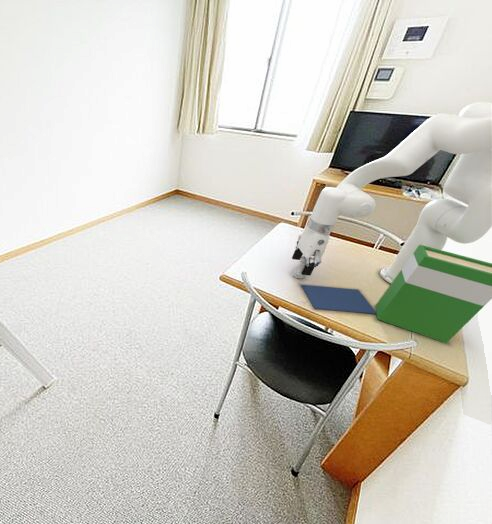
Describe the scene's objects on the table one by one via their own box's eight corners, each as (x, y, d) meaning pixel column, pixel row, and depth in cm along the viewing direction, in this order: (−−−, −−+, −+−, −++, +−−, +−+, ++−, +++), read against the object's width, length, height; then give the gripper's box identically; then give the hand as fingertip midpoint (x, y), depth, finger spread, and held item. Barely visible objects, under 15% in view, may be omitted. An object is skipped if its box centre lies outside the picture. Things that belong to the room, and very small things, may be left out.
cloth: (357, 290, 107) (358, 289, 107) (377, 314, 97) (377, 313, 97) (301, 285, 107) (301, 284, 107) (314, 308, 98) (314, 307, 97)
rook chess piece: (291, 277, 111) (299, 259, 107) (291, 270, 115) (298, 253, 110) (304, 280, 110) (313, 262, 105) (303, 273, 114) (312, 256, 109)
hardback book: (440, 327, 94) (499, 265, 80) (446, 343, 88) (510, 279, 75) (375, 305, 100) (419, 244, 86) (377, 319, 95) (424, 256, 81)
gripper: (343, 239, 93) (320, 282, 103) (320, 215, 107) (302, 254, 117) (319, 237, 93) (298, 280, 103) (299, 212, 107) (282, 252, 117)
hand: (300, 266), depth 110 cm, fingers open, 9 cm apart
